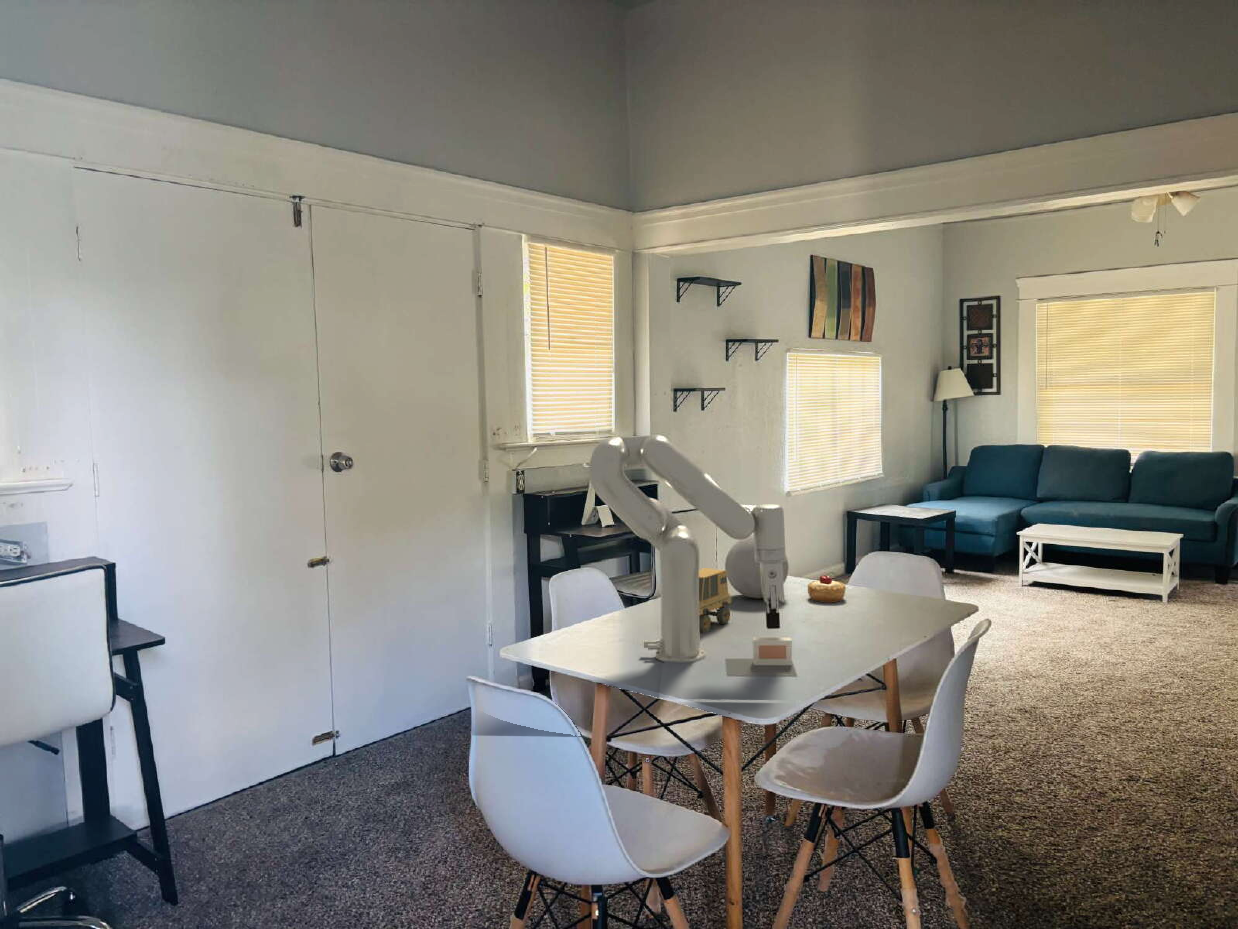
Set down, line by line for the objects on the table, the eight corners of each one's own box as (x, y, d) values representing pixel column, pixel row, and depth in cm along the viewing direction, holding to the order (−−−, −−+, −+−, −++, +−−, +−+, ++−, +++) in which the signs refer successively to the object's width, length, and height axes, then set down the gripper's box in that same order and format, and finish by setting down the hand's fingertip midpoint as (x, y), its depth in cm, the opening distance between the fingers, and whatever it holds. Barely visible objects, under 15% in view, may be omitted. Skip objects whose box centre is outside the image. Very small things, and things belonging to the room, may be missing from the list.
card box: (753, 665, 222) (753, 640, 221) (753, 662, 224) (752, 637, 224) (791, 665, 221) (791, 640, 221) (790, 662, 224) (790, 637, 223)
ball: (793, 604, 287) (792, 540, 286) (728, 605, 288) (727, 541, 286) (783, 590, 307) (783, 530, 305) (722, 591, 308) (722, 531, 306)
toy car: (668, 630, 258) (667, 577, 257) (703, 616, 274) (703, 566, 273) (700, 635, 252) (699, 581, 251) (734, 621, 268) (734, 569, 267)
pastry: (803, 597, 299) (802, 570, 298) (839, 595, 299) (838, 568, 299) (813, 604, 287) (812, 576, 286) (851, 602, 287) (850, 574, 287)
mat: (727, 678, 214) (727, 676, 214) (725, 661, 228) (725, 658, 228) (797, 679, 213) (797, 676, 212) (791, 661, 226) (791, 659, 226)
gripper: (788, 559, 221) (791, 635, 222) (782, 549, 236) (785, 620, 237) (756, 560, 222) (759, 636, 223) (752, 550, 237) (756, 621, 238)
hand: (773, 627), depth 230 cm, fingers closed
